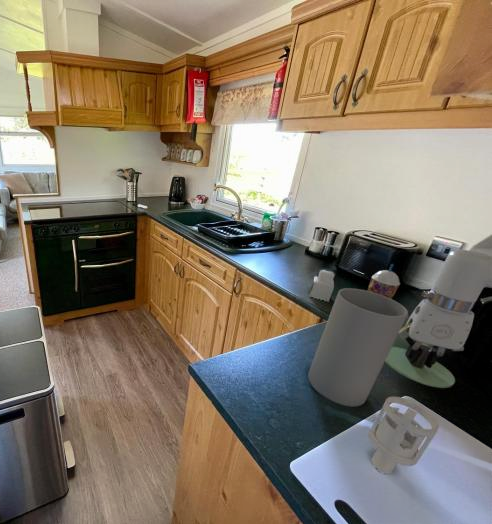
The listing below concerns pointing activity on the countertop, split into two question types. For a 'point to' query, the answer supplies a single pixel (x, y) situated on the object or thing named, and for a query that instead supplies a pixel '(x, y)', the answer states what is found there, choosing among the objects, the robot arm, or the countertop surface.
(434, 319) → the robot arm
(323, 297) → the medicine bottle
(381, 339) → the cylinder vase
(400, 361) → the lid
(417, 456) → the strainer
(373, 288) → the smoothie
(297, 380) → the countertop surface
